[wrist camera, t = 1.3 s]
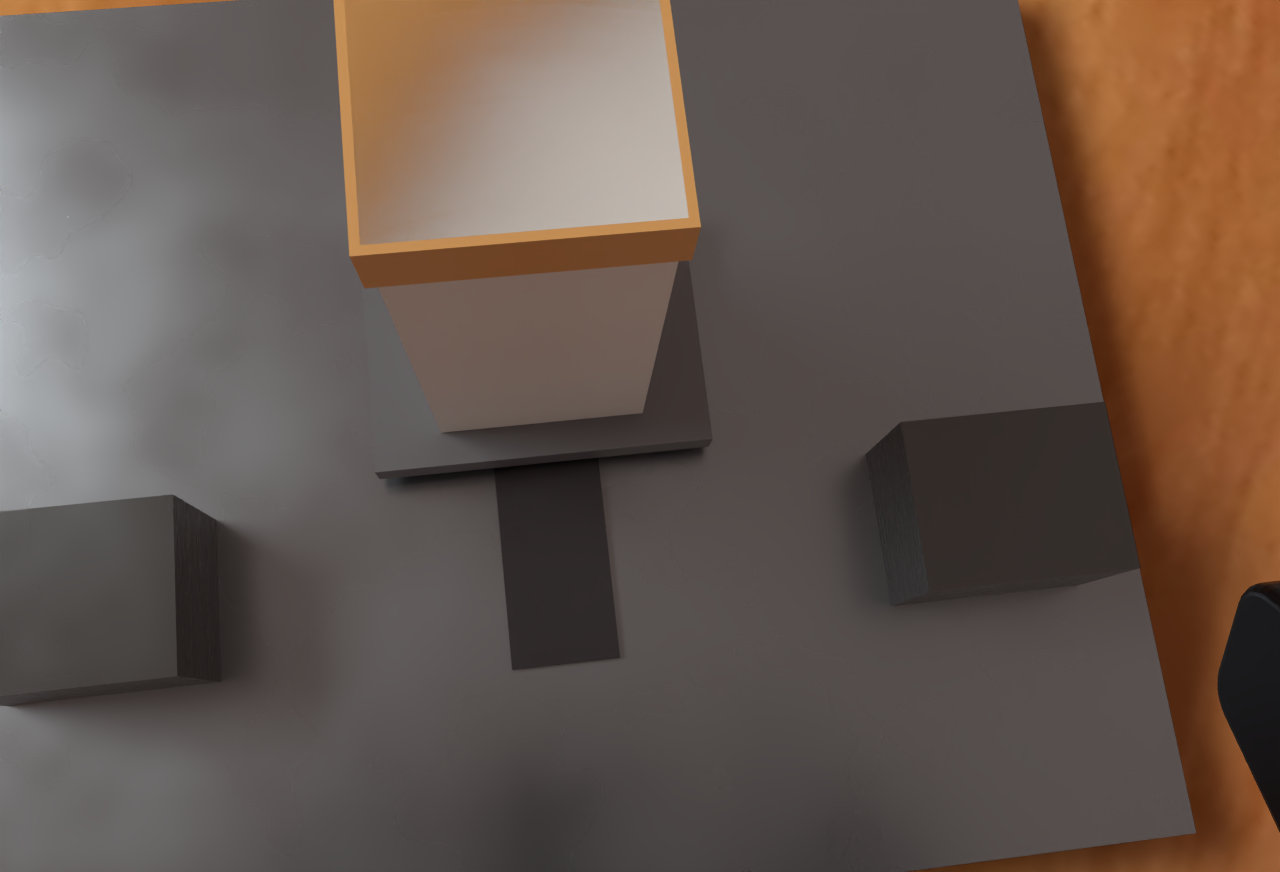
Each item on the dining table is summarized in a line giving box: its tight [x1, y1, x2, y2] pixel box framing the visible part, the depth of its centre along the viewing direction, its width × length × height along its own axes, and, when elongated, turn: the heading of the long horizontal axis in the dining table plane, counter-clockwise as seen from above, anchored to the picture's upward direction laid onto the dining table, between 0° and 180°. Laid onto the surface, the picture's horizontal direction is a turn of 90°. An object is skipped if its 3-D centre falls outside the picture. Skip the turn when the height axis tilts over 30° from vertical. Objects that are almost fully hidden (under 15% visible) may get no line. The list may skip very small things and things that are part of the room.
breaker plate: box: [0, 0, 1196, 872], centre depth 18 cm, size 15×18×4 cm
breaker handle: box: [333, 0, 713, 479], centre depth 15 cm, size 4×5×8 cm
